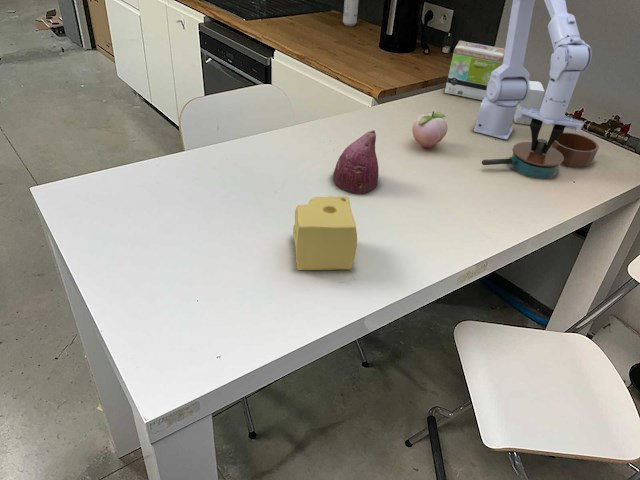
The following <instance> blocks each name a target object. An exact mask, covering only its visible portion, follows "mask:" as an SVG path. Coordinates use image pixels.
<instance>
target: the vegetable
mask: <svg viewBox="0 0 640 480" xmlns="http://www.w3.org/2000/svg"><path fill="white" fill-rule="evenodd" d="M376 140H377V133H376V130H375V129H372V130H368V131H366V132H365V133H364V134H363V135H362V136H361V137H359V138H358V139H356V140H354V141H353V142H351V143H350V144H349V145H348V146H346V148H345V149H344V150H343V151H342V153H341V155H340V156H339V157H338V160H337V162H336V164H335V168H334V170H333V174H332V181H333V182H334V184H335V186H336V187H338V189H341V190H343V191H345V192H348V193H350V194H357V195H363V194H366V193H369V192H371V191H373V190H375V189H376V188H377V186H378V185H379V184H378V182H379V161H378V158H377V153H376V142H377V141H376Z"/></svg>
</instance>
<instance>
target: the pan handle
mask: <svg viewBox="0 0 640 480" xmlns="http://www.w3.org/2000/svg"><path fill="white" fill-rule="evenodd" d="M517 163H518V160H517V159H516V158H515V157H512V156H510V157H509V158H491V159H483V160H482V161H481V165H483V166H492V165H493V166H494V165H511V164H512V165H517Z"/></svg>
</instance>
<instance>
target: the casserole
mask: <svg viewBox="0 0 640 480" xmlns="http://www.w3.org/2000/svg"><path fill="white" fill-rule="evenodd" d="M550 147H553V148H555V149H556V150H558V151H559V152H560V153H561V154H562V155H563V156H564V160H563V162H562V163H561V164H560V165H562V166H565V167H569V168H573V169H585V168H586V169H587V168H588V167H590V166H592V165H593V162H594V161H595V157H596V155H597V153H598V150H599V147H600V146H599V144H598V142H596V141H595V140H594V139H593V138H590V137H588V136H586V135H583V134H579V133H577V132H568V131H565V132H563V133H562V134H561V135H560V136H559V137H558V138H557V139H556V140H555V141H554V143H553V144H552V145H551V146H550Z"/></svg>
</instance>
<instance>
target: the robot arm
mask: <svg viewBox="0 0 640 480" xmlns="http://www.w3.org/2000/svg"><path fill="white" fill-rule="evenodd" d="M543 1H544V3H545V6H546V9H547V13H548V15H549V17H550V19H551V20H550V21H549V23H548V25H547V31H548V33H549V38H550V42H551V46H552V49H553V53H551V55H550V69H549V72H548V74H549V75H548V76H549V80H548V83H547V87H546V89H545V92H544V95H543V98H542V101H541V104H540V108H539V110H537V109H528V108H522V107H521V108H520V109H519V112H518V115H517V117H519V118H522V117H523V118H527V119H532V121H531V123H530V125H529V128H530V134H531V142H532V146H531V150H532V151H534V148H535V145H536V142H537V139H539V135H540V132H541V129H542V126H543V124H545V125H550V126H551V125H553V127H552V130H551V133H550V136H549V138H548V140H547V145H546V147H545V150H544V154H546V153H547V151H548V149H549V148H550V146H551V145H552V144H553V143H554V141H555V140H556V139H557V138H558V137H559V136H560V135H561V134H562V133H563V132H564V131H565V129H569V130H574V131H575V132H576V133H577V132H578V133H580V132H581V130H582V128H583V125H584V121H583V120H578V119H575V118H574V117H570V116H567V115H566V113H567V110H568V108H569V104H570V102H571V99H572V96H573V94H574V91H575V88H576V85H577V83H578V81H579V76H580V75H581V72H584V71H586V70H587V69H588V68H589V66H590V64H591V61H592V57H593V56H592V55H593V53H592V47H591V46H590V45H589V44H588V43H586V42H585V40H584V39H582V38H581V35H580V31H579V28H578V24H577V21H576V16H575V15H574V14H572V13H569V12H568V7H567V2H566V0H543ZM535 2H536V0H512V3H511V4H512V5H511V9H510V16H509V22H508V28H507V35H506V40H505V47H504V49H505V53H504V57H503V61H502V65H501V66H499V67H498V68H497V69H495V70H494V71H492V72H491V77H490V80H489V82H488V85H487V96H488V98H487V97H485V98H484V99H483V101H482V100H481V104H480V106H479V110H478V114H477V118H476V121H475V125H474V129H473V132H475V133H478V134H481V135H482V134H483V135H485V136H489V137H494V138H497V139H501V140H506V141H507V140H509V138H510V136H511V134H512V133H513V130H514V128H513V127H512V125H513V122H514V115H515V112H516V109H517V105H519V104H521V101H523V100H525V99H526V97H527V96H528V94H529V90H530V85H529V81H530V76H531V74H530V72H529V71H528V70H527V69H526V67H525V66H524V63H525V58H526V51H527V48H528V47H527V46H528V42H529V41H528V40H529V34H530V30H531V24H532V19H533V12H534V6H535Z"/></svg>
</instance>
